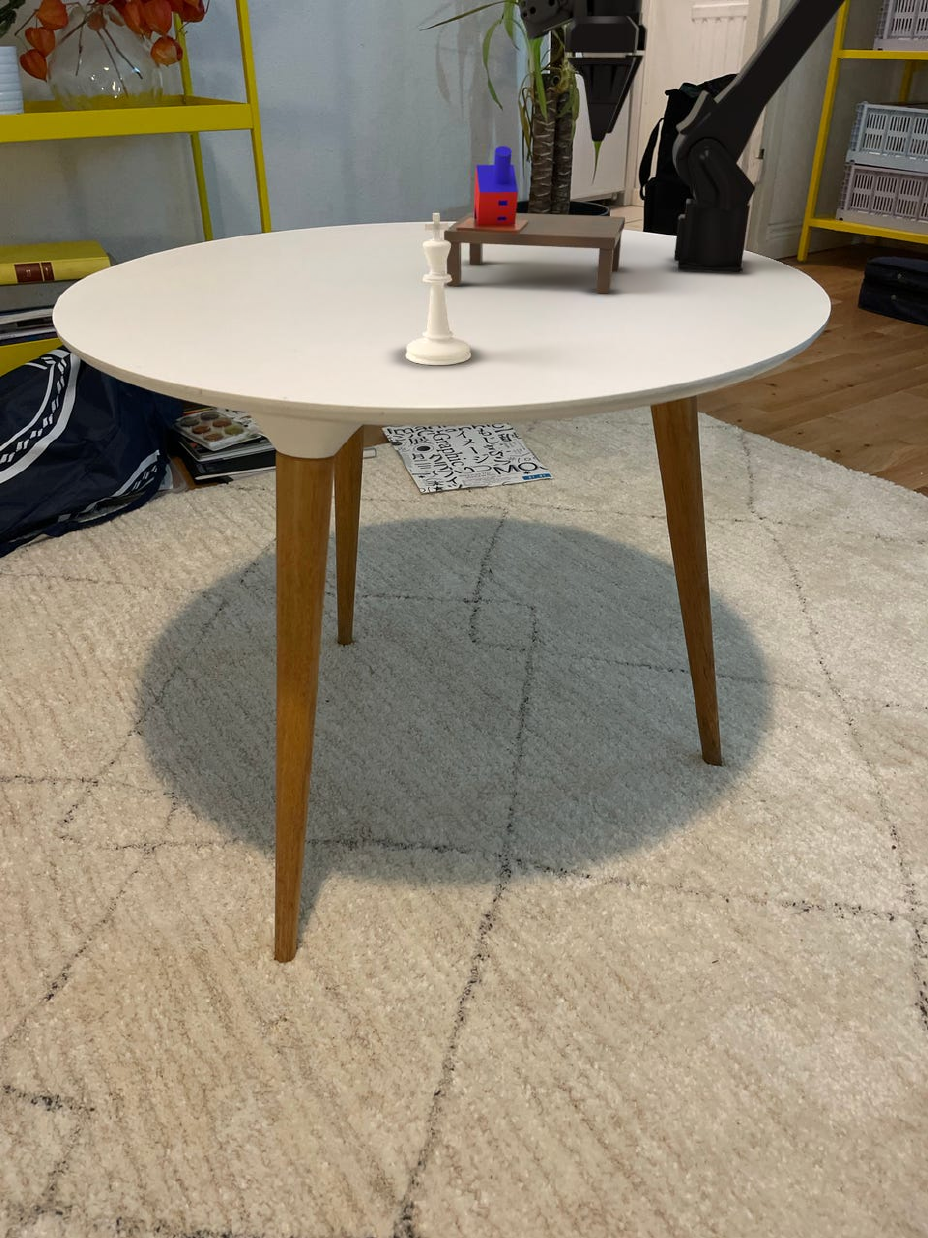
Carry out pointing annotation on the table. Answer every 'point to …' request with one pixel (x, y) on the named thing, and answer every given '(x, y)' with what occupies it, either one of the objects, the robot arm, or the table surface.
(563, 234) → the miniature wooden table
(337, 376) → the table surface
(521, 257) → the table surface
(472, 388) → the table surface
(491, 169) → the toy building block
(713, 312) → the table surface
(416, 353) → the chess piece
